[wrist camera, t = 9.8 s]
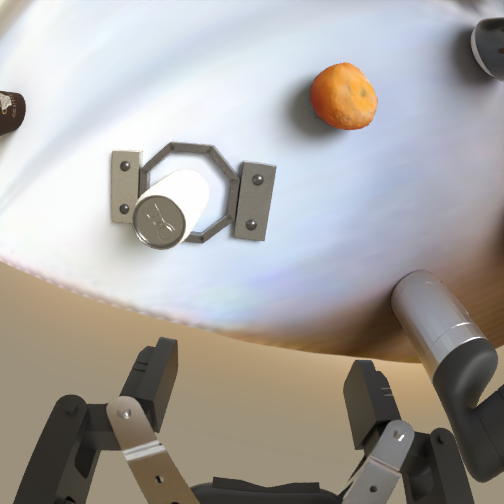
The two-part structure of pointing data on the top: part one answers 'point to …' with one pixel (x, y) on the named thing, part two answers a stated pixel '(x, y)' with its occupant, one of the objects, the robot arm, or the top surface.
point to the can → (170, 209)
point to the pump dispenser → (489, 46)
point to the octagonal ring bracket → (253, 177)
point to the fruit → (343, 97)
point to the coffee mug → (11, 111)
